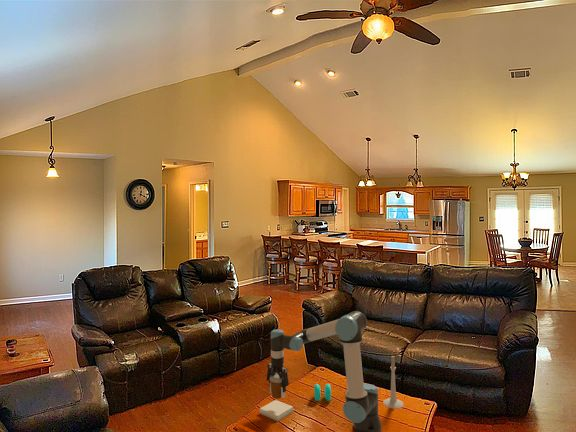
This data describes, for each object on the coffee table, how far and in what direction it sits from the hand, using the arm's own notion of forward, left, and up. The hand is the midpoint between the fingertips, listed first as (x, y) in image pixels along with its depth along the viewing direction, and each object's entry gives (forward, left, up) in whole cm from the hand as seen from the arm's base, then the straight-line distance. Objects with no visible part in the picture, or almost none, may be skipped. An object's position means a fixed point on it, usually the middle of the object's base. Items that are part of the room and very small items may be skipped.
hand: (277, 395), depth 240 cm
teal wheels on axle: (-11, -30, -11) cm, 34 cm away
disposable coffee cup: (0, 0, -1) cm, 1 cm away
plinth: (+1, 0, -11) cm, 11 cm away
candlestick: (-48, -52, -11) cm, 72 cm away
